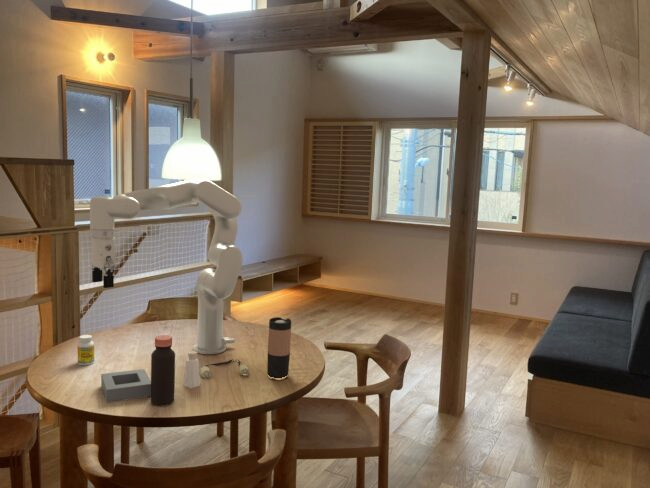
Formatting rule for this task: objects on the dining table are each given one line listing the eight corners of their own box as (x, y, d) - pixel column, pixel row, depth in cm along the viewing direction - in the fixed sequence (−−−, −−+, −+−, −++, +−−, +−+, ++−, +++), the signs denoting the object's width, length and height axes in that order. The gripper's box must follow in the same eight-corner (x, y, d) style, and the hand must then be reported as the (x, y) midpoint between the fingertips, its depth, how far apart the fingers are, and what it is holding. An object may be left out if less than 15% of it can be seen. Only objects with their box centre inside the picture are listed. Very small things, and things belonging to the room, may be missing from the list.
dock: (144, 380, 180) (144, 368, 179) (151, 396, 169) (152, 383, 168) (101, 386, 174) (101, 374, 173) (106, 402, 162) (106, 389, 162)
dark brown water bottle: (145, 403, 163) (146, 338, 161) (160, 395, 170) (161, 332, 167) (164, 408, 161) (165, 342, 158) (178, 399, 167) (180, 336, 165)
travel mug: (271, 381, 185) (274, 324, 182) (263, 373, 192) (265, 318, 189) (292, 379, 189) (295, 322, 186) (283, 371, 195) (286, 316, 192)
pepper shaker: (184, 388, 175) (185, 355, 174) (182, 382, 180) (182, 350, 179) (201, 387, 178) (202, 354, 176) (198, 380, 182) (199, 348, 181)
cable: (196, 364, 198) (197, 355, 198) (241, 361, 203) (242, 352, 203) (201, 380, 184) (201, 370, 183) (249, 377, 189) (250, 368, 188)
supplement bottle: (92, 359, 196) (92, 333, 194) (95, 364, 191) (95, 337, 190) (76, 361, 193) (76, 335, 191) (79, 366, 188) (78, 339, 187)
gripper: (124, 237, 179) (124, 288, 181) (103, 230, 191) (104, 278, 194) (101, 238, 174) (101, 291, 176) (81, 231, 186) (82, 280, 189)
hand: (102, 284), depth 185 cm, fingers open, 9 cm apart
